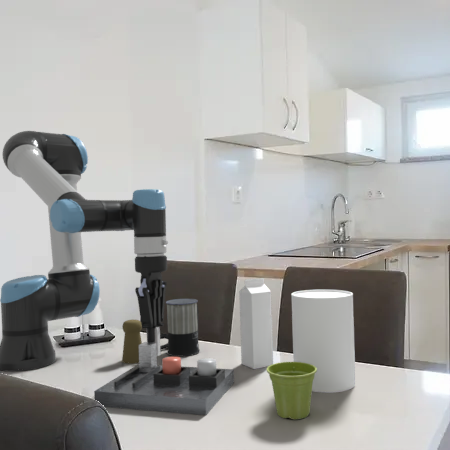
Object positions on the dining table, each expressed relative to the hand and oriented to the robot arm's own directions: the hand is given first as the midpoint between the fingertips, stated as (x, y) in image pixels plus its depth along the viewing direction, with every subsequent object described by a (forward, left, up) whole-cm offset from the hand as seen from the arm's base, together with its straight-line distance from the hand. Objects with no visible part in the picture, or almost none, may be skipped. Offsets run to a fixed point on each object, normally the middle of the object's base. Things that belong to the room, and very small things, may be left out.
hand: (154, 354), depth 119 cm
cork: (-13, +15, -6) cm, 21 cm away
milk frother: (-6, +27, -6) cm, 28 cm away
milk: (+21, +17, -6) cm, 28 cm away
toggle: (0, -3, -3) cm, 4 cm away
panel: (+7, -8, -6) cm, 12 cm away
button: (+8, -8, -1) cm, 12 cm away
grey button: (+16, -8, -1) cm, 18 cm away
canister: (+39, +6, -6) cm, 40 cm away
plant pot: (+35, -14, -6) cm, 38 cm away
